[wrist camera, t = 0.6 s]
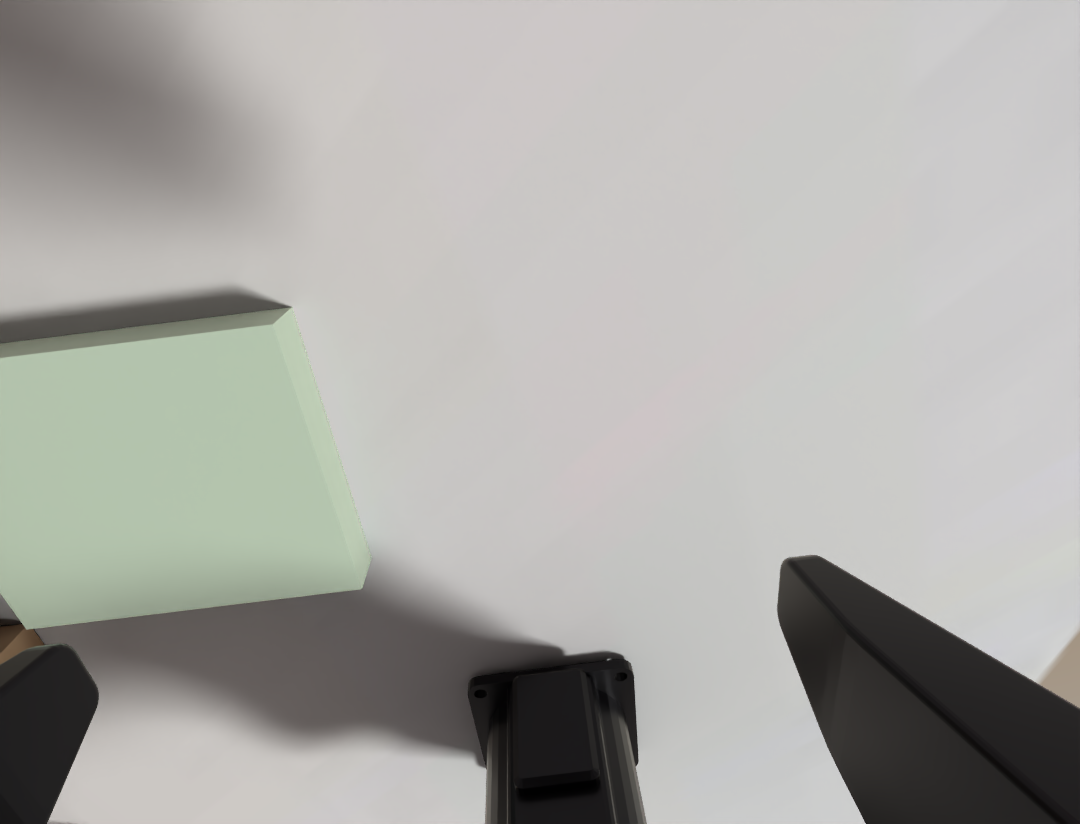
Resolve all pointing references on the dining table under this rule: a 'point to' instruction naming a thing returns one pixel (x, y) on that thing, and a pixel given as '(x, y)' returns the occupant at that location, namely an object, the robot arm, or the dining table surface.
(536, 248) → the dining table surface
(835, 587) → the robot arm
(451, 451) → the dining table surface
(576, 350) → the dining table surface
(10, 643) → the low shelf
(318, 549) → the cover plate
